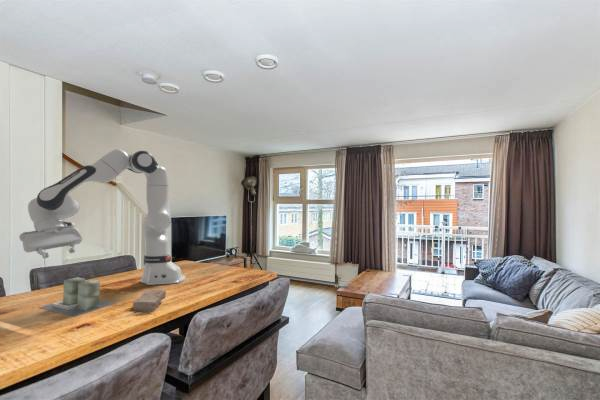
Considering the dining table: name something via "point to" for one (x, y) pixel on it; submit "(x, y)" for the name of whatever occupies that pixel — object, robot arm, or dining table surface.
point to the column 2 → (88, 295)
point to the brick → (149, 300)
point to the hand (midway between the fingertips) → (59, 254)
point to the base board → (73, 308)
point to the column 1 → (71, 291)
